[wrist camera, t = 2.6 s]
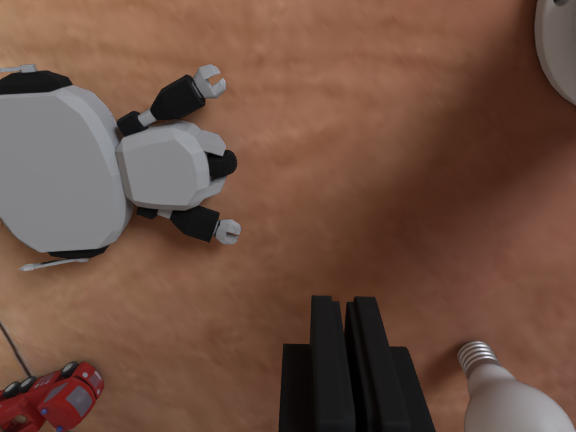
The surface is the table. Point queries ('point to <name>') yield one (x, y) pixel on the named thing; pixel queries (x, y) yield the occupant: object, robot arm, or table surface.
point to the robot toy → (105, 164)
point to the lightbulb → (505, 397)
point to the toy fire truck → (51, 399)
